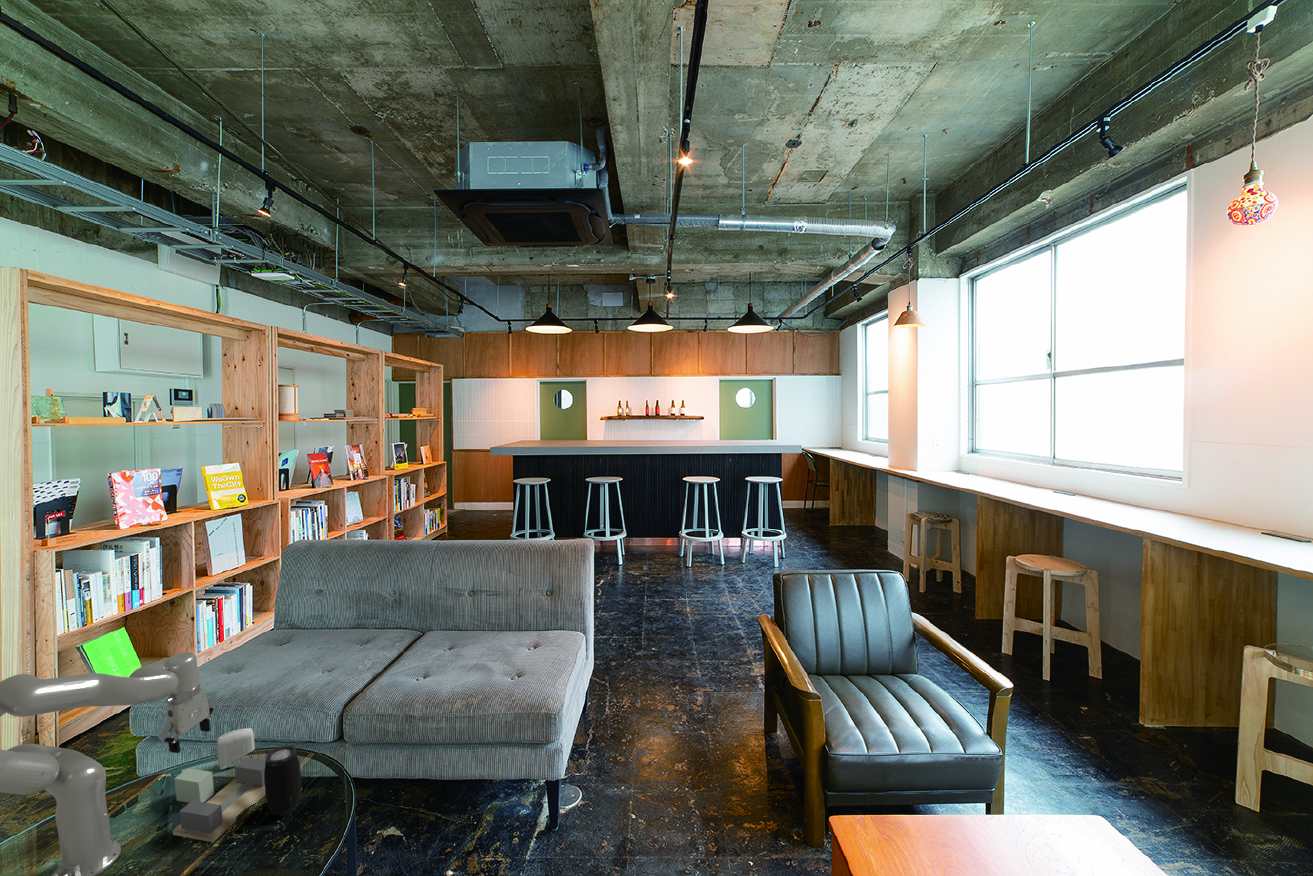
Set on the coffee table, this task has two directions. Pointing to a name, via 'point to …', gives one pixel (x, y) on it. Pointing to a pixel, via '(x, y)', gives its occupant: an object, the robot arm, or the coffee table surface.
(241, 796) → the rail board
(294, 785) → the portable speaker
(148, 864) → the coffee table surface
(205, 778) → the block
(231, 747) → the photo printer
